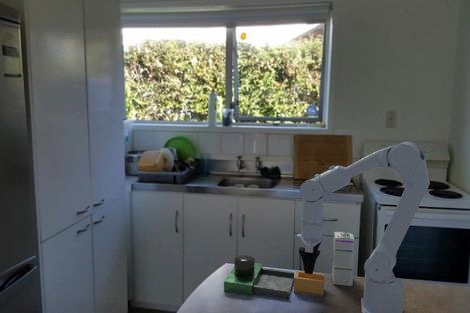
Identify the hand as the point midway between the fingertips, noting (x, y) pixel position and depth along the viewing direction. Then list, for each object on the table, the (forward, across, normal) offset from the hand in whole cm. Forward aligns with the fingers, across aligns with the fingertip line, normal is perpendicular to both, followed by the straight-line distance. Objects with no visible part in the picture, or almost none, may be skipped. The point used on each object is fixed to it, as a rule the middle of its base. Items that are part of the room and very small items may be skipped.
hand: (309, 267), depth 108 cm
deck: (+7, 0, -14) cm, 15 cm away
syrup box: (+7, -9, +9) cm, 15 cm away
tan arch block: (+7, 0, 0) cm, 7 cm away
